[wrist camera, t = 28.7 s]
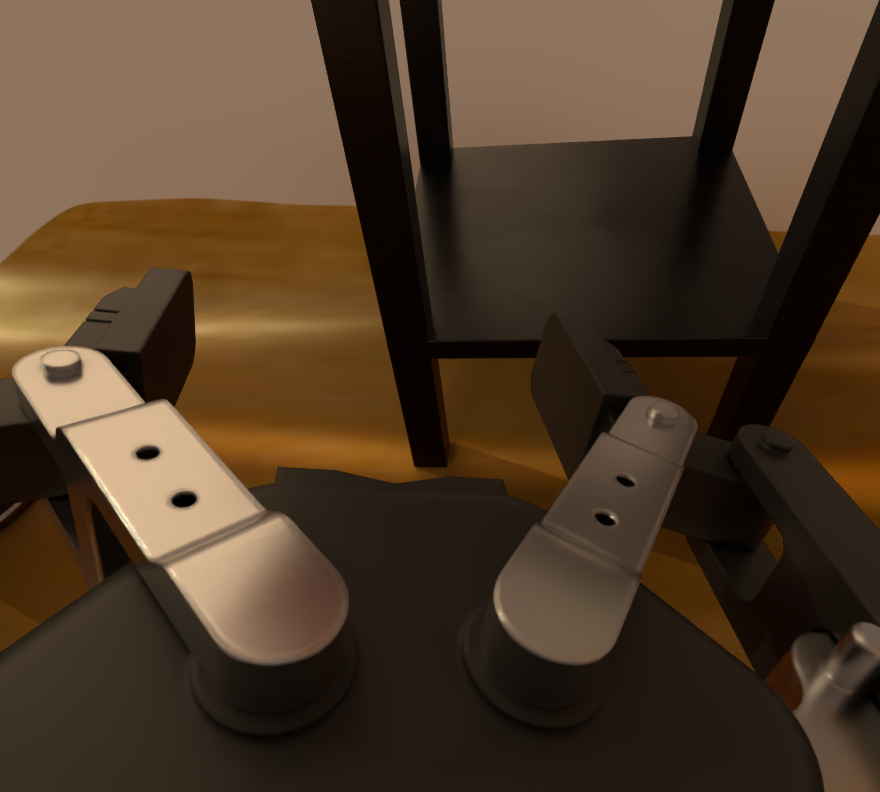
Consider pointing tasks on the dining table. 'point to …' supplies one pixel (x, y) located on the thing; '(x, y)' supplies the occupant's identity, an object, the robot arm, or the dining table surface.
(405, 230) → the stand
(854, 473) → the dining table surface
